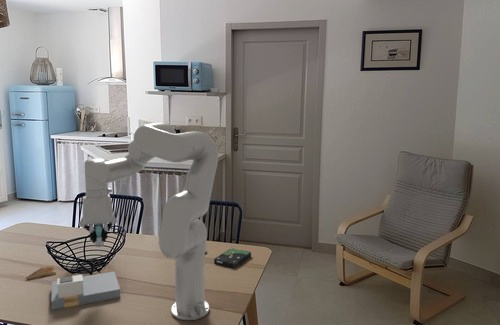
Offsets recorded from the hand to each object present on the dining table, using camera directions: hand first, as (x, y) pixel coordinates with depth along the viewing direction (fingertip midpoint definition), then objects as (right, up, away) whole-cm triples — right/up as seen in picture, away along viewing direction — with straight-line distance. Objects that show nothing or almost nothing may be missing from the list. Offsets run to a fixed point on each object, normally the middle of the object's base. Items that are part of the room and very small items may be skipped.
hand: (98, 240), depth 151 cm
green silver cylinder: (0, -2, 0) cm, 2 cm away
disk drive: (+48, -14, +28) cm, 58 cm away
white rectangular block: (-6, -16, -9) cm, 20 cm away
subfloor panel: (-4, -18, -3) cm, 19 cm away
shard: (-26, -16, +12) cm, 33 cm away
